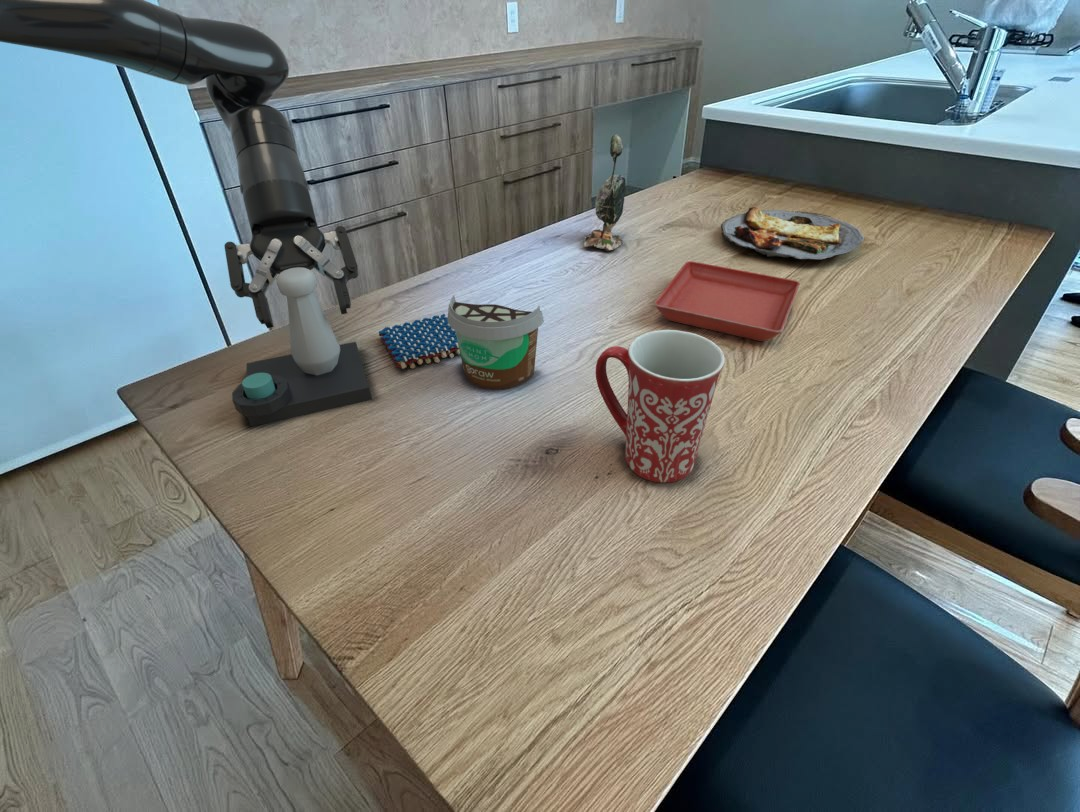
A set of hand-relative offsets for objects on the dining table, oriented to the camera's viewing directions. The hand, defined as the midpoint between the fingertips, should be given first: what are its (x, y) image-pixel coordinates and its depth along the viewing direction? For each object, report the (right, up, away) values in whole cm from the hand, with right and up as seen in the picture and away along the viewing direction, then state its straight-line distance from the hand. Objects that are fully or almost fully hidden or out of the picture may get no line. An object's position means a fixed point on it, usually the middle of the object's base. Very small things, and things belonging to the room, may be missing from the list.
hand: (307, 318), depth 70 cm
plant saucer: (+56, +4, +20) cm, 60 cm away
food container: (+22, -7, +6) cm, 24 cm away
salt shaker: (-1, -5, +6) cm, 8 cm away
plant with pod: (+40, +21, +44) cm, 63 cm away
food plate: (+75, +21, +43) cm, 89 cm away
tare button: (-5, -9, -1) cm, 10 cm away
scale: (-2, -8, +5) cm, 10 cm away
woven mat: (+11, -2, +13) cm, 18 cm away
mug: (+39, -16, -6) cm, 43 cm away
